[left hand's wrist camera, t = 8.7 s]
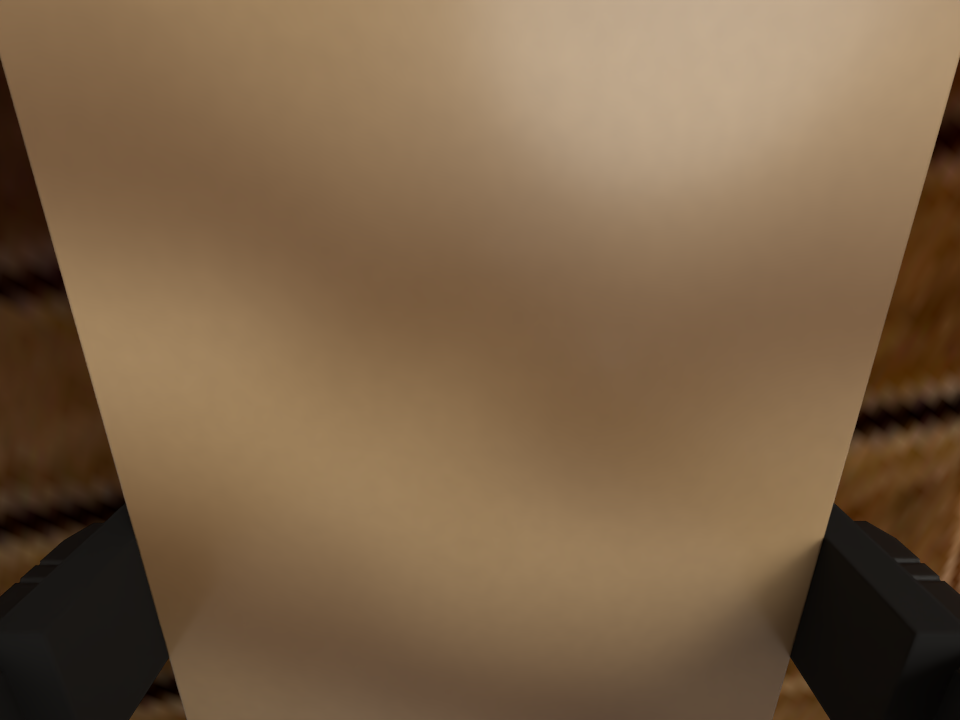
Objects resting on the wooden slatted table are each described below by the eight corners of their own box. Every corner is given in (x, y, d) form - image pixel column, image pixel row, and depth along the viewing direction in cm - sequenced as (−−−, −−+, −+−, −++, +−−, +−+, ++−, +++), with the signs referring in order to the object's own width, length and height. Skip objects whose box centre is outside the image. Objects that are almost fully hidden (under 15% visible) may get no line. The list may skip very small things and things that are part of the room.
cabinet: (217, -293, 11) (-419, -1415, 3) (742, -292, 11) (1381, -1420, 3) (318, 503, 18) (195, 756, 10) (640, 503, 18) (763, 756, 10)
